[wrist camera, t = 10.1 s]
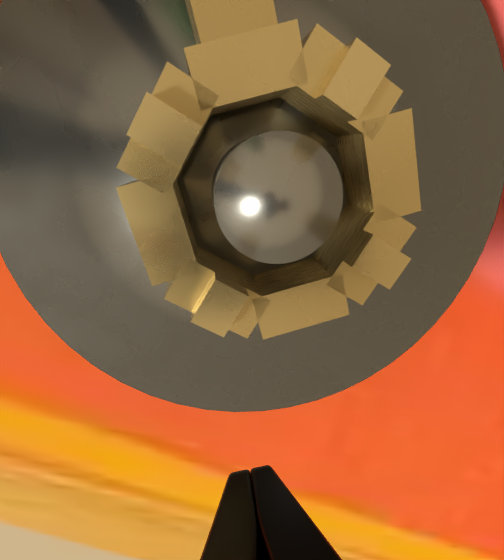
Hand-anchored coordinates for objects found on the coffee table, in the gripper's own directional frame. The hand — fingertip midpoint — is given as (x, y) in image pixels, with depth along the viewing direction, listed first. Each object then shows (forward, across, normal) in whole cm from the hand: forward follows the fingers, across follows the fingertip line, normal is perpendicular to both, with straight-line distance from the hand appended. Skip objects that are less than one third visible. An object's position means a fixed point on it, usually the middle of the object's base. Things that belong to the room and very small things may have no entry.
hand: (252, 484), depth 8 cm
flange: (+10, -2, -5) cm, 11 cm away
